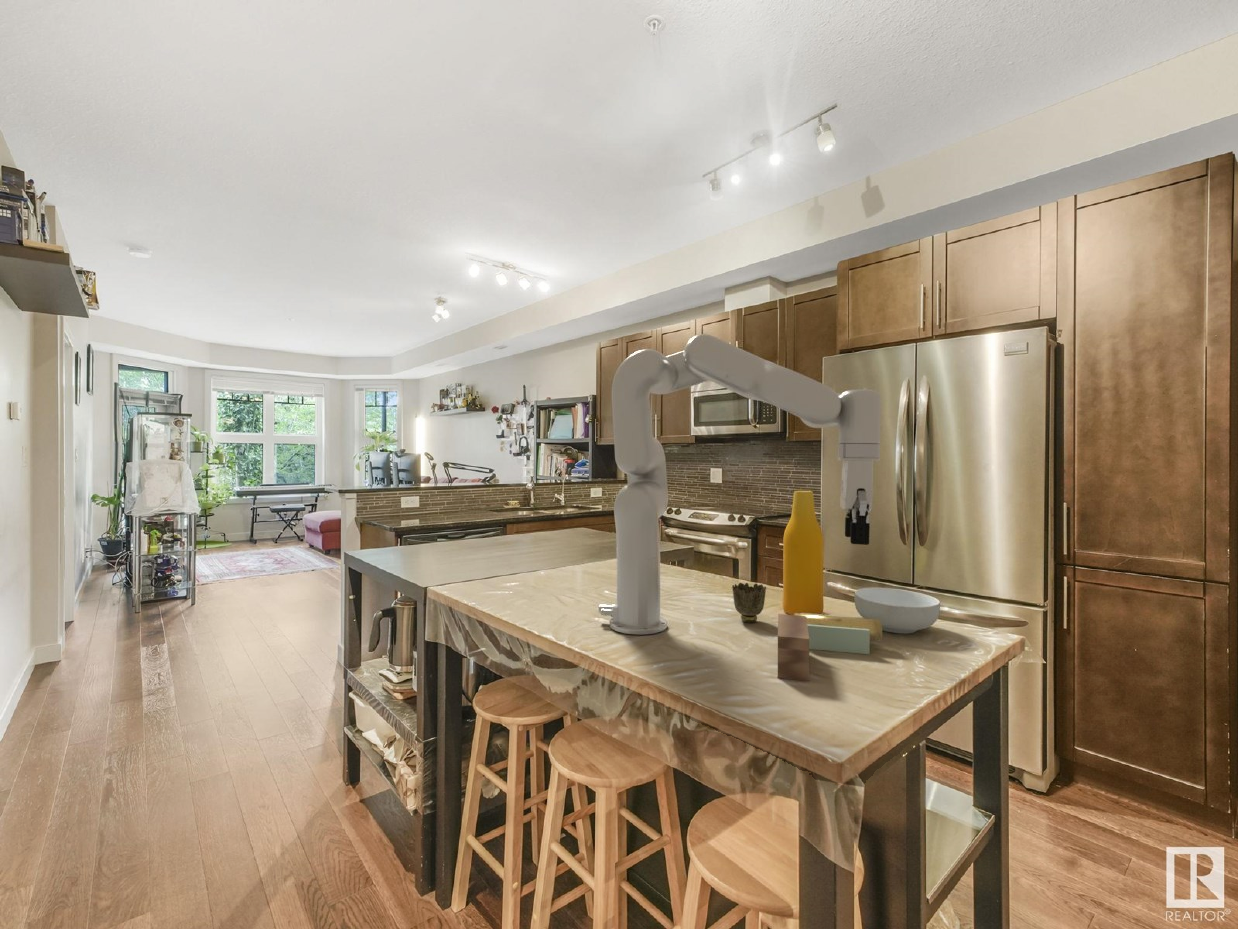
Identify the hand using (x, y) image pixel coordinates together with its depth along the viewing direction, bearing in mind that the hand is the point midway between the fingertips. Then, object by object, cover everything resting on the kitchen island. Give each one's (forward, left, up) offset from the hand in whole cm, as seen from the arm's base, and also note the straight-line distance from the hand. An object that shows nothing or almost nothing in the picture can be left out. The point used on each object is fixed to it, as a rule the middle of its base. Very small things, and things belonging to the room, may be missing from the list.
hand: (856, 540), depth 110 cm
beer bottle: (-9, +22, -21) cm, 32 cm away
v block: (-4, 0, -21) cm, 21 cm away
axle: (-4, 0, -17) cm, 18 cm away
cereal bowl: (+10, +15, -21) cm, 28 cm away
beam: (-12, -14, -21) cm, 28 cm away
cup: (-21, +11, -21) cm, 32 cm away
